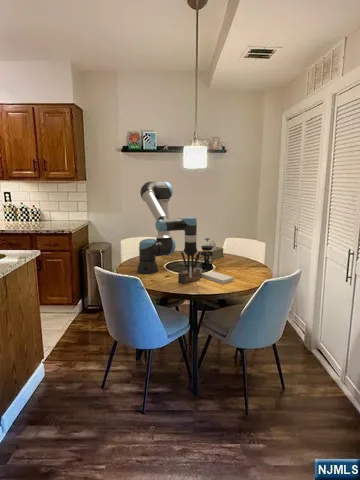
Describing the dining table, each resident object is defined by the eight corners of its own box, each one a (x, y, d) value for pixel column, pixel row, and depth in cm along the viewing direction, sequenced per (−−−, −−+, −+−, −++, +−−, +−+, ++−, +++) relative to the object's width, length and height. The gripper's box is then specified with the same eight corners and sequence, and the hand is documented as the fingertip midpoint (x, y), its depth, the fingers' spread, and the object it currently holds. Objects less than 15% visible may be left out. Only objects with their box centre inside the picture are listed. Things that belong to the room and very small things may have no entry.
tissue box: (213, 255, 290) (214, 237, 287) (223, 256, 284) (224, 239, 281) (202, 258, 276) (202, 240, 273) (211, 260, 270) (212, 242, 267)
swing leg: (178, 282, 209) (178, 273, 208) (196, 277, 220) (196, 269, 219) (182, 283, 206) (182, 274, 205) (200, 279, 217) (200, 270, 216)
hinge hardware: (188, 282, 211) (188, 271, 209) (181, 279, 216) (181, 269, 214) (205, 277, 221) (205, 267, 220) (198, 275, 226) (198, 265, 225)
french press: (211, 266, 251) (212, 237, 247) (214, 269, 242) (215, 239, 238) (197, 266, 249) (197, 237, 245) (199, 270, 240) (200, 239, 236)
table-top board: (222, 284, 208) (222, 280, 208) (201, 277, 222) (202, 273, 222) (233, 280, 215) (233, 277, 215) (212, 274, 229) (213, 271, 229)
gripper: (199, 240, 208) (199, 275, 213) (180, 240, 207) (179, 275, 212) (201, 242, 201) (201, 278, 205) (180, 242, 200) (180, 279, 204)
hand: (190, 277), depth 208 cm, fingers closed
